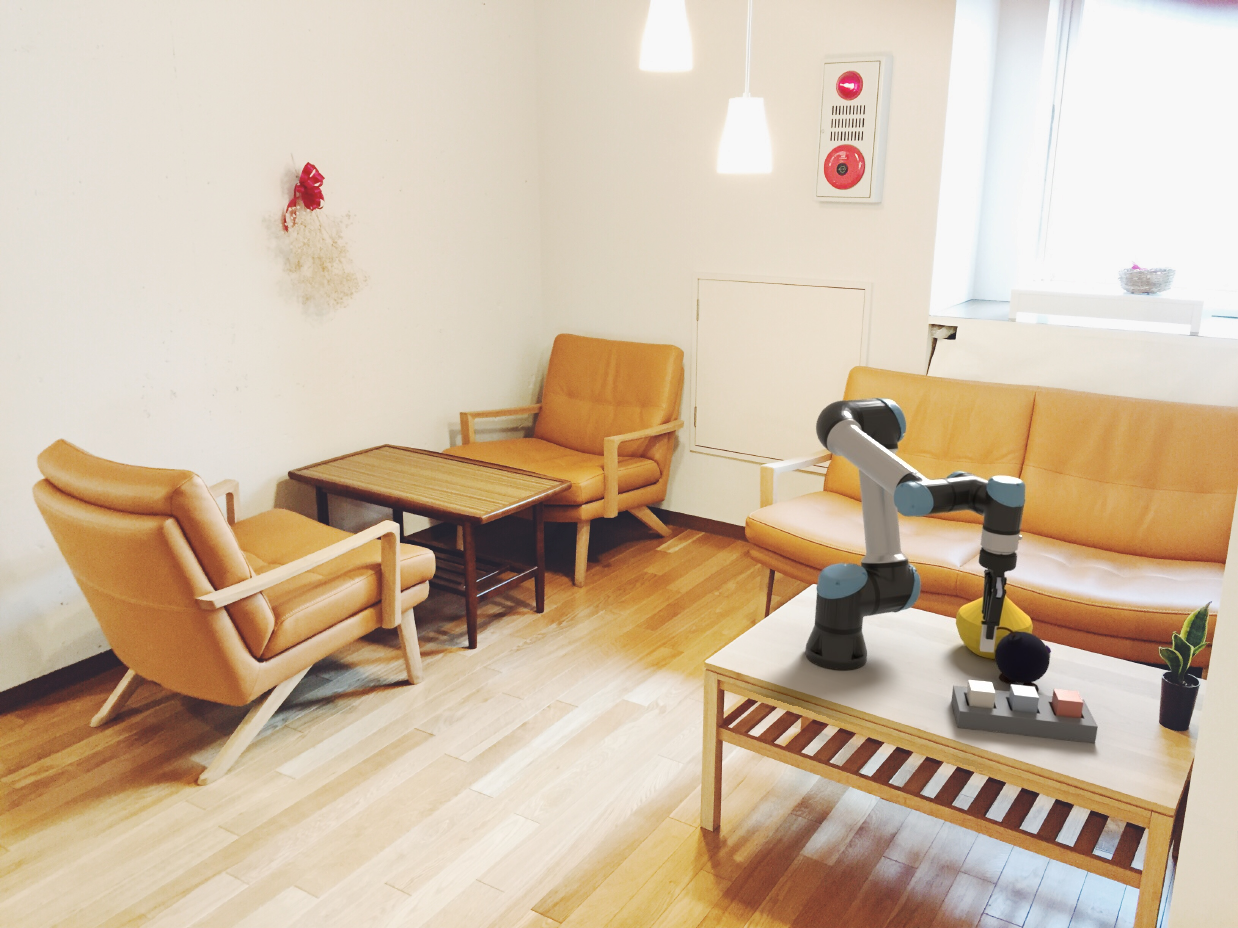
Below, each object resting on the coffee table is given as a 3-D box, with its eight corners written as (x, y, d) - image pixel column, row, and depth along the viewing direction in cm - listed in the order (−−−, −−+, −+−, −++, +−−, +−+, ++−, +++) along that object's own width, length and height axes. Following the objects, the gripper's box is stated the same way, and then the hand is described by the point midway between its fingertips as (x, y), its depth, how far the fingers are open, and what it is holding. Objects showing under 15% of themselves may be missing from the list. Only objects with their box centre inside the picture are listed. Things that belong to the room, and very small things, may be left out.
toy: (1056, 693, 230) (1065, 634, 226) (1007, 700, 226) (1015, 640, 222) (1022, 669, 241) (1030, 613, 237) (975, 676, 238) (982, 619, 234)
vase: (1035, 646, 254) (1044, 578, 249) (1020, 674, 239) (1030, 601, 234) (962, 629, 264) (970, 563, 259) (944, 654, 249) (952, 584, 244)
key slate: (1012, 710, 214) (1014, 694, 213) (1008, 699, 219) (1010, 684, 218) (1036, 713, 213) (1039, 697, 212) (1032, 702, 218) (1034, 686, 217)
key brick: (1056, 715, 213) (1058, 699, 212) (1051, 704, 217) (1053, 688, 216) (1080, 718, 212) (1083, 702, 211) (1075, 707, 216) (1077, 691, 215)
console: (957, 727, 214) (959, 710, 213) (951, 700, 226) (953, 685, 225) (1095, 743, 209) (1097, 726, 208) (1081, 715, 220) (1083, 699, 219)
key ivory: (969, 706, 216) (971, 690, 215) (966, 695, 221) (968, 679, 220) (993, 708, 215) (995, 692, 214) (989, 697, 220) (991, 682, 219)
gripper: (1023, 560, 202) (1009, 665, 208) (1012, 540, 214) (999, 639, 220) (985, 557, 203) (972, 661, 209) (976, 537, 215) (964, 636, 222)
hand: (986, 650), depth 215 cm, fingers closed
